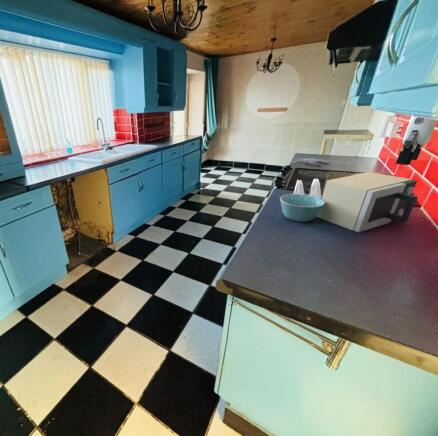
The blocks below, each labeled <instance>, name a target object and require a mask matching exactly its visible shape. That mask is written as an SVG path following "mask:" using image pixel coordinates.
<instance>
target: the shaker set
mask: <svg viewBox="0 0 438 436" xmlns="http://www.w3.org/2000/svg"><path fill="white" fill-rule="evenodd" d="M304 189H305V188H304V184H303V181H302V179H300V180H299V179H297V180H296V183H295V187H294V190H293V194H304V195H306V194H305V190H304ZM321 191H322V190H321V182H320V180H319V179H318V178H314V179H313V180H312V183H311V184H310V190H309V194H308V195H310V196H314V197H318V198H320V199H321V198H322V192H321Z"/></svg>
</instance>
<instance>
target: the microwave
mask: <svg viewBox="0 0 438 436" xmlns="http://www.w3.org/2000/svg"><path fill="white" fill-rule="evenodd" d="M398 183H404V184H406V186H405V188H404V190H403V193H405V194H410V195H413V193H414V191H415V187H416V185H417V183H418V180H414V179H412V178H406V177H400V176H396V175H389V174H384V173H379V172H373V171H367V172H363V173H357V174H352V175H347V176H341V177H338V178H331V179H328V180H326V181H325V187H324V189H323V193H322V195H321V199H322V200H323V201H324V202H325V204H324V206H323V207H322V208H321V210H320V211H319V212H318V214H317V215H316V217H317V218H319V219H322V220H324V221H327V222H330V223H331V224H335V225H337V226H340V227H342V228H345V229H348V230H351V231H354V228H355V226H356V223H357V220H358V217H359V214H360V212H361V209H362V206H363V203H364V200H365V198H366V195H367V192H368V191H369V190H373V189H377V188H382V187H386V186H390V185H394V184H398ZM407 203H408V201H407V200H403V199H400V200H399V202H398V205H397V207H396V209H395V212H394V214H397V215H401V216H402V215H403V212H404V210H405V208H406V205H407ZM394 221H395V220H392V219H391V221H390V223H391V222H394Z"/></svg>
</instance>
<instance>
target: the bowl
mask: <svg viewBox="0 0 438 436" xmlns="http://www.w3.org/2000/svg"><path fill="white" fill-rule="evenodd" d="M304 194H305V193H304ZM304 194H294V193H289V194H284V195H281V196H280V197H279V201H280V205H281V210H282V215H284V217H286V218H287V219H288V220H290V221H292V222H298V223H307V222H311V221H312V220H313V219H315V218H316V217H317V215H318V212H319V211H320V210H321V208H322V207H323V206H324V204H325V202H324V201H323V200H322V198H321V197H320V198H318V197H314V196H310V195H309V194H305V195H304Z"/></svg>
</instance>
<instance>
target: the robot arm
mask: <svg viewBox="0 0 438 436" xmlns="http://www.w3.org/2000/svg"><path fill="white" fill-rule="evenodd" d="M437 122H438V119H437V120H429V119H424V118H420V117H414V116H412V115H411V117H410V119H409V122H408V125H407V127H406V130H405V133H404V135H403V139H402V142H401V143H402V145H403V146H402V147H401V150H400V151H399V154H398V157H397V159H396V162H395V164H396V165H402V166H409V165H411V164H412V163H411V162H412V161H417V160H418V158H419V156H420V153H421V151H422V147H423V146H424V145H427V144H428V143H429V142H430V141H431V138H432V135H433V132H434V130H435V127H436V124H437Z"/></svg>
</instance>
